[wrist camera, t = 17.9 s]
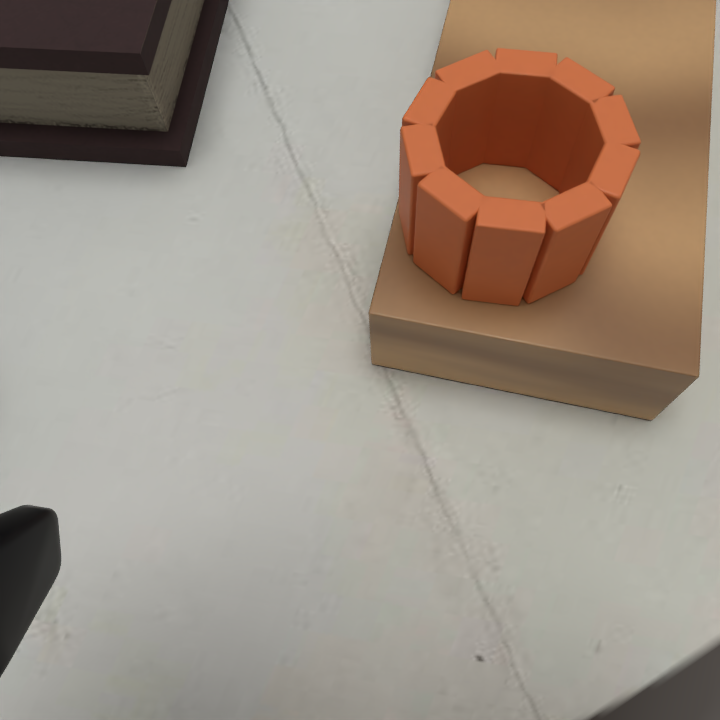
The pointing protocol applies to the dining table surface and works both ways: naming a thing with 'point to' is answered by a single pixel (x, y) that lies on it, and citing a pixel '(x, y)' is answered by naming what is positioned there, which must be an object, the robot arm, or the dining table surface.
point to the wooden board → (619, 241)
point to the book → (105, 77)
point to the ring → (519, 149)
